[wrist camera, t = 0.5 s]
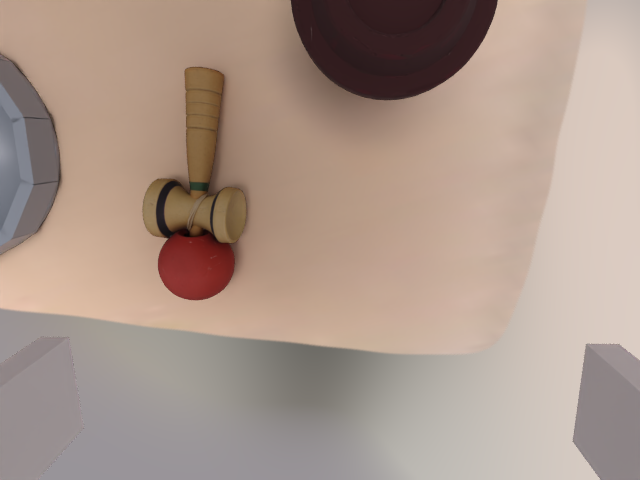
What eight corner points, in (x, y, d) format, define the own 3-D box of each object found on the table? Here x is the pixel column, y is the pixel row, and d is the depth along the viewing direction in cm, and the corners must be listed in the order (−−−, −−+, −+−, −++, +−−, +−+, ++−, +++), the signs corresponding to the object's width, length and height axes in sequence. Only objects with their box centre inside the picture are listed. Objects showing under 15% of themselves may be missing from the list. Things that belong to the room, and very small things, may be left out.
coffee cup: (348, 135, 35) (348, 133, 21) (289, 18, 34) (245, -73, 19) (462, 73, 34) (549, 24, 19) (406, -53, 32) (455, -211, 18)
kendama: (160, 78, 37) (153, 289, 38) (139, 54, 31) (132, 307, 32) (253, 87, 38) (243, 292, 39) (251, 66, 32) (239, 311, 33)
